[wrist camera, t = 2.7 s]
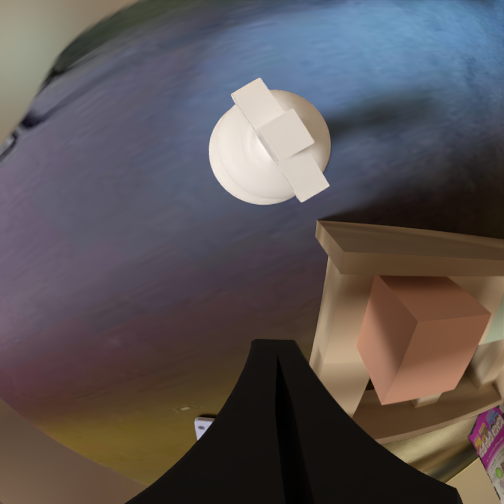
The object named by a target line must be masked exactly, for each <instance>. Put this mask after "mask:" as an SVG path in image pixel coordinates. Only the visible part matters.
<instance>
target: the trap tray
mask: <svg viewBox="0 0 504 504" xmlns="http://www.w3.org/2000/svg"><path fill="white" fill-rule="evenodd" d="M315 237H316V238H317V239H318V241H319V242H320V244H321V245H322V247H323V248H324V250H325V251H326V253H327V254H328V256H329V257H328V264H327V271H326V277H325V284H324V290H323V296H322V302H321V307H320V313H319V318H318V324H317V329H316V334H315V339H314V344H313V349H312V353H311V358H310V363H309V365H310V366H311V368H312V369H313V371H314V372H315V374H316V375H317V376H318V378H319V379H320V381H321V382H322V383H323V385H324V386H325V387H326V389H327V390H328V391H329V393H330V394H331V395H332V396H333V398H334V399H335V400H336V401H337V402H338V404H339V405H340V406H341V407H342V408H343V409H344V411H345V412H346V413H347V414H348V415H349V416H350V417H351V418H352V419H353V420H354V421H355V422H356V423H357V424H358V425H359V426H360V427H361V428H362V429H363V430H364V431H365V432H366V433H367V434H369V435H370V436H371V437H372V438H373V439H374V440H375V441H377V442H378V443H379V444H384V443H389V442H393V441H398V440H402V439H406V438H410V437H414V436H417V435H421V434H424V433H428V432H431V431H434V430H437V429H440V428H443V427H446V426H449V425H452V424H455V423H458V422H460V421H463V420H466V419H468V418H471V417H473V416H475V415H478V414H480V413H483V412H485V411H487V410H489V409H491V408H494V407H496V406H498V405H500V404H502V403H503V402H504V239H497V238H490V237H482V236H475V235H467V234H459V233H451V232H442V231H433V230H424V229H414V228H405V227H394V226H383V225H372V224H360V223H348V222H335V221H321V220H317V226H316V235H315ZM374 275H389V276H447V277H449V278H450V279H451V280H452V281H454V282H455V283H456V284H457V285H459V286H460V287H461V288H462V289H464V290H465V291H466V292H467V293H468V294H470V295H471V296H472V297H473V298H474V299H476V300H477V301H478V302H479V303H480V304H481V305H483V306H484V307H485V308H486V309H487V310H488V311H489V312H491V313H492V314H491V317H490V319H489V322H488V324H487V326H486V329H485V331H484V333H483V336H482V338H481V340H480V342H479V344H478V345H479V346H478V348H477V350H476V352H475V354H474V356H473V358H472V360H471V362H470V364H469V366H468V368H467V369H466V371H465V372H464V373H463V375H462V377H461V379H460V380H459V382H458V384H457V386H456V387H455V389H453V390H450V391H446V392H442V393H438V394H434V395H430V396H426V397H422V398H417V399H412V400H407V401H402V402H397V403H391V404H385V405H381V402H380V400H379V397H378V395H377V392H376V390H375V389H373V390H365V388H366V386H367V383H368V381H369V379H370V376H369V374H368V372H367V369H366V367H365V365H364V362H363V360H362V358H361V356H360V353H359V351H358V349H357V347H356V345H357V341H358V338H359V335H360V331H361V327H362V324H363V320H364V316H365V313H366V309H367V305H368V301H369V296H370V292H371V288H372V283H373V279H374ZM364 390H365V391H364Z"/></svg>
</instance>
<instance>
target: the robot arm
mask: <svg viewBox="0 0 504 504" xmlns="http://www.w3.org/2000/svg"><path fill="white" fill-rule="evenodd" d="M195 429H196V434H197V439H198V441H197V442H196V443H195V444H194V445H193V446H192V448H191V449H190V450H189V451H188V452H187V453H186V454H185V455H184V456H183V457H182V458H181V459H180V460H179V461H178V462H177V463H176V464H175V465H174V466H173V467H171V468H170V469H169V470H168V471H167V472H166V473H165V474H164V475H163V476H161V477H160V478H159V479H158V480H157V481H156V482H154V483H153V484H152V485H151V486H149V487H148V488H146V489H145V490H144V491H142V492H141V493H139V494H138V495H137V496H135V497H134V498H132V499H131V500H129V501H128V502H126V503H125V504H463V503H462V500H461V497H460V495H459V493H458V491H457V489H456V488H454V487H452V486H450V485H447V484H445V483H443V482H440V481H438V480H436V479H434V478H432V477H430V476H428V475H426V474H424V473H422V472H420V471H418V470H417V469H415V468H413V467H412V466H410V465H408V464H407V463H405V462H404V461H402V460H401V459H399V458H398V457H397V456H395V455H394V454H392V453H391V452H390V451H388V450H387V449H386V448H384V447H383V446H382V445H380V444H379V443H378V442H377V441H375V440H374V439H373V438H372V437H371V436H370V435H369V434H367V433H366V432H365V431H364V430H363V429H362V428H361V427H360V426H359V425H358V424H357V423H356V422H355V421H354V420H353V419H352V418H351V417H350V416H349V415H348V414H347V413H346V412H345V411H344V409H343V408H342V407H341V406H340V405H339V404H338V402H337V401H336V400H335V399H334V398H333V396H332V395H331V394H330V393H329V391H328V390H327V389H326V387H325V386H324V385H323V383H322V382H321V381H320V379H319V378H318V376H317V375H316V374H315V372H314V371H313V369H312V368H311V366H310V365H309V363H308V361H307V360H306V358H305V357H304V355H303V353H302V352H301V350H300V348H299V346H298V344H297V343H296V342H295V341H294V340H269V339H255V340H253V341H252V342H251V349H250V353H249V356H248V359H247V362H246V364H245V367H244V369H243V371H242V373H241V375H240V377H239V380H238V382H237V384H236V386H235V387H234V389H233V391H232V393H231V394H230V396H229V398H228V399H227V401H226V403H225V404H224V406H223V408H222V409H221V411H220V412H219V414H218V415H217V416H216V418H205V417H198V418H196V419H195ZM0 504H3V503H1V502H0Z"/></svg>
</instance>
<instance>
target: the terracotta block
mask: <svg viewBox="0 0 504 504" xmlns="http://www.w3.org/2000/svg"><path fill="white" fill-rule="evenodd" d="M491 314H492V313H491V312H489V311H488V310H487V309H486V308H485V307H484V306H483V305H481V304H480V303H479V302H478V301H477V300H476V299H474V298H473V297H472V296H471V295H470V294H468V293H467V292H466V291H465V290H464V289H462V288H461V287H460V286H459V285H457V284H456V283H455V282H454V281H452V280H451V279H450V278H449V277H447V276H389V275H374V279H373V283H372V288H371V292H370V296H369V301H368V305H367V309H366V313H365V316H364V320H363V324H362V327H361V331H360V335H359V338H358V341H357V345H356V347H357V349H358V351H359V353H360V356H361V358H362V360H363V362H364V365H365V367H366V369H367V372H368V374H369V376H370V378H371V381H372V383H373V385H374V388H375V390H376V392H377V395H378V397H379V400H380V402H381V405H385V404H391V403H397V402H402V401H407V400H412V399H417V398H422V397H426V396H430V395H434V394H438V393H442V392H446V391H450V390H453V389H455V387H456V386H457V384H458V382H459V380H460V379H461V377H462V375H463V373H464V372H465V370H466V368H467V366H468V364H469V362H470V360H471V358H472V356H473V354H474V352H475V350H476V348H477V346H478V344H479V342H480V340H481V338H482V336H483V333H484V331H485V329H486V326H487V324H488V322H489V319H490V317H491Z"/></svg>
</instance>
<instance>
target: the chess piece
mask: <svg viewBox="0 0 504 504" xmlns="http://www.w3.org/2000/svg"><path fill="white" fill-rule="evenodd" d="M231 96H232V98H233V101H234V102H235V105H234V106H233V107H232V108H231V109H230V110H228V111H227V112H226V113H225V114H224V115H223V116H222V117H221V119H220V120H219V121H218V123H217V124H216V126H215V128H214V130H213V132H212V135H211V139H210V144H209V158H210V164H211V167H212V170H213V172H214V174H215V176H216V178H217V180H218V181H219V182H220V184H221V185H222V186H223V187H224V188H225V189H226V190H227V191H228V192H229V193H231V194H232V195H233V196H235V197H237V198H239V199H241V200H243V201H246V202H249V203H253V204H260V205H269V204H276V203H280V202H283V201H286V200H288V199H290V198H292V197H294V196H295V195H296V197H297V198H298V199H299V200H300V201H301V203H302V202H304V201H305V200H307V199H309V198H310V197H312V196H314V195H315V194H317V193H319V192H320V191H322V190H324V189H325V188H327V187H329V184H328V182H327V181H326V179H325V177H324V175H323V174H322V173H323V172H324V170H325V168H326V166H327V163H328V160H329V156H330V149H331V142H330V134H329V130H328V127H327V125H326V122H325V120H324V119H323V117H322V115H321V114H320V113H319V111H318V110H317V109H316V108H315V107H314V106H313V105H312V104H311V103H310V102H308V101H307V100H306V99H304V98H302V97H300V96H298V95H296V94H294V93H291V92H287V91H282V90H268V88H267V87H266V85H265V84H264V83H263V81H262V80H261V79H260V78H258V79H256V80H254V81H253V82H251V83H249V84H247V85H246V86H244V87H242V88H241V89H239V90H237V91H236V92H234V93H232V94H231Z"/></svg>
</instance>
